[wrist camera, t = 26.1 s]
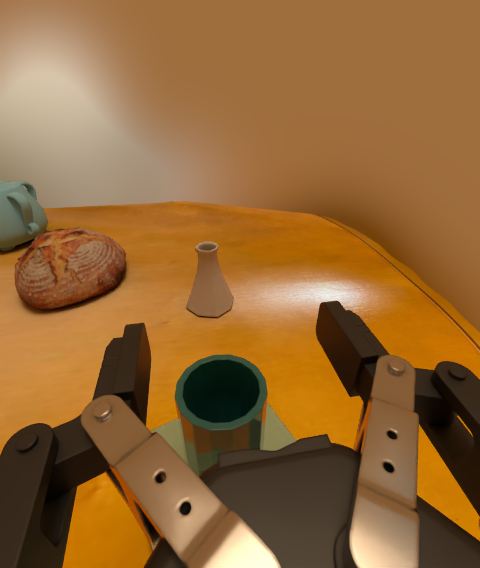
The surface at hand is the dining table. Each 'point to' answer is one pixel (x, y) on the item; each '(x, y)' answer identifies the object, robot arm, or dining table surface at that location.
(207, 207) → the dining table surface
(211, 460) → the cup
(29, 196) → the decorative pot
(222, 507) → the robot arm
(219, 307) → the flask
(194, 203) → the dining table surface
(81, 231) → the bread
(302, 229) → the dining table surface
